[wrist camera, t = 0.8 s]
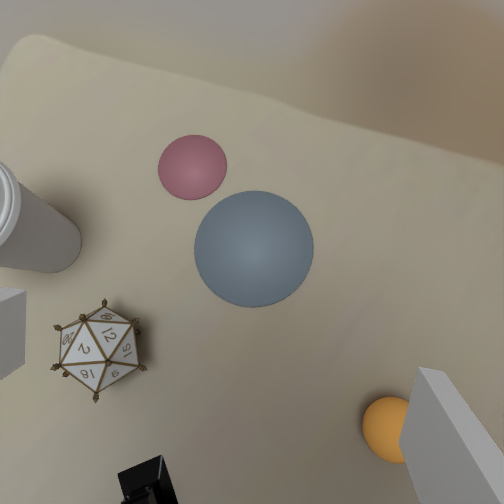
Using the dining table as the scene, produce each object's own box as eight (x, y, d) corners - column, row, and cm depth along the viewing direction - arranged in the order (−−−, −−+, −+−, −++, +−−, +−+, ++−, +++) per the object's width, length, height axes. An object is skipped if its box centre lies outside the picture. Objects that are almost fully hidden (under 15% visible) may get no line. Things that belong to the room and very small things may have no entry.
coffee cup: (-3, 263, 44) (-141, 226, 30) (43, 192, 46) (-67, 124, 31) (65, 301, 43) (-46, 283, 28) (110, 226, 44) (26, 172, 30)
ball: (427, 429, 38) (451, 445, 32) (382, 465, 37) (399, 487, 32) (389, 381, 39) (406, 388, 33) (345, 415, 38) (356, 428, 33)
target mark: (337, 258, 42) (338, 258, 42) (239, 332, 41) (239, 332, 41) (265, 169, 45) (265, 169, 44) (172, 236, 44) (171, 236, 43)
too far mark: (240, 172, 45) (240, 172, 44) (183, 213, 44) (182, 212, 44) (201, 123, 46) (200, 122, 46) (145, 161, 46) (145, 161, 46)
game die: (120, 361, 45) (32, 404, 37) (109, 289, 44) (15, 317, 35) (176, 375, 40) (88, 428, 32) (165, 294, 39) (71, 328, 30)
